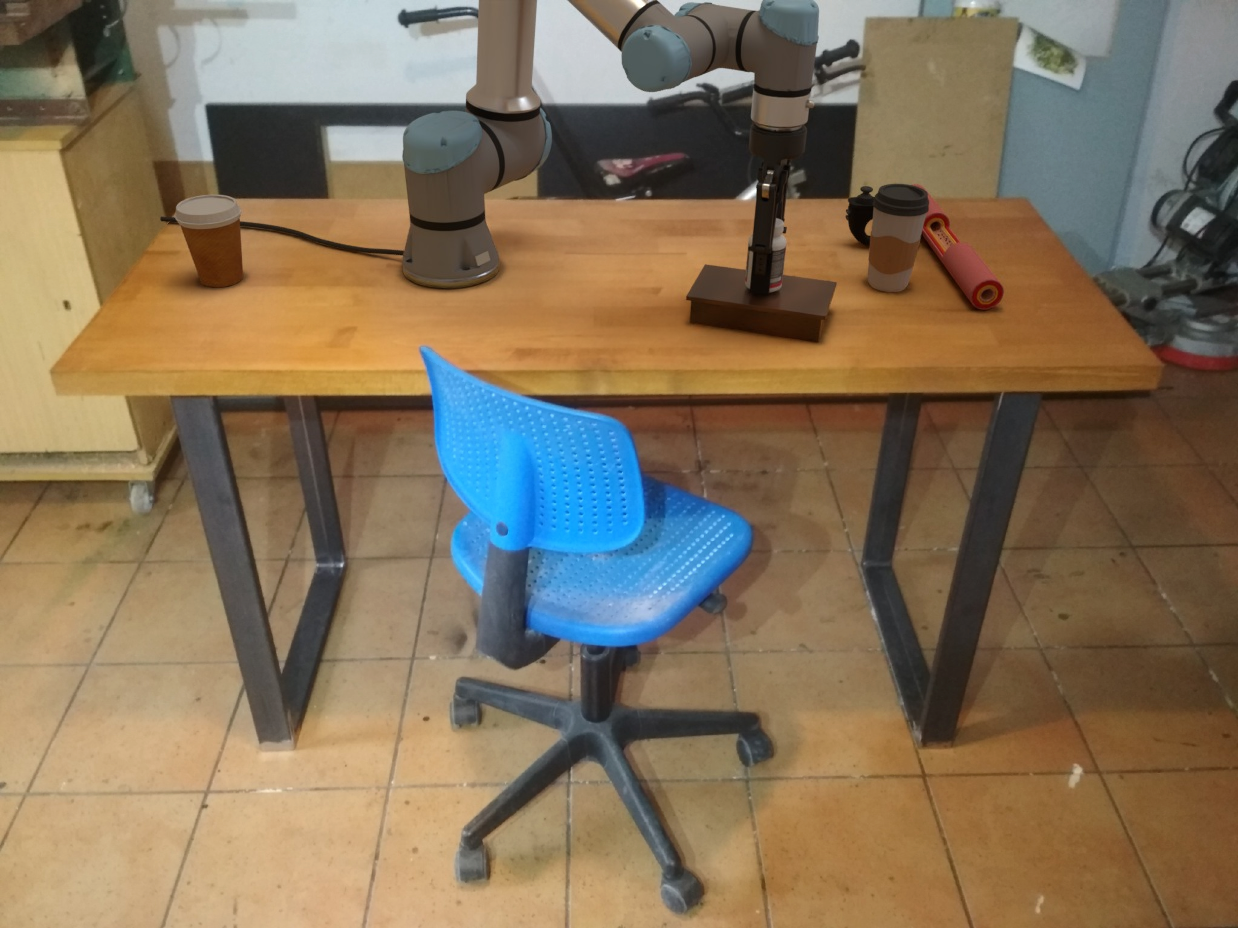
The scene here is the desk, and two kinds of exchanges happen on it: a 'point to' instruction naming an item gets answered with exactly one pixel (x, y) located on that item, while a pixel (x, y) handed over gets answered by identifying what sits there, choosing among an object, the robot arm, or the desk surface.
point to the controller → (860, 214)
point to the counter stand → (760, 304)
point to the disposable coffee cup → (213, 237)
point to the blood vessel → (961, 259)
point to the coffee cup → (895, 235)
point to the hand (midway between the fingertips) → (763, 284)
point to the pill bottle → (778, 258)
